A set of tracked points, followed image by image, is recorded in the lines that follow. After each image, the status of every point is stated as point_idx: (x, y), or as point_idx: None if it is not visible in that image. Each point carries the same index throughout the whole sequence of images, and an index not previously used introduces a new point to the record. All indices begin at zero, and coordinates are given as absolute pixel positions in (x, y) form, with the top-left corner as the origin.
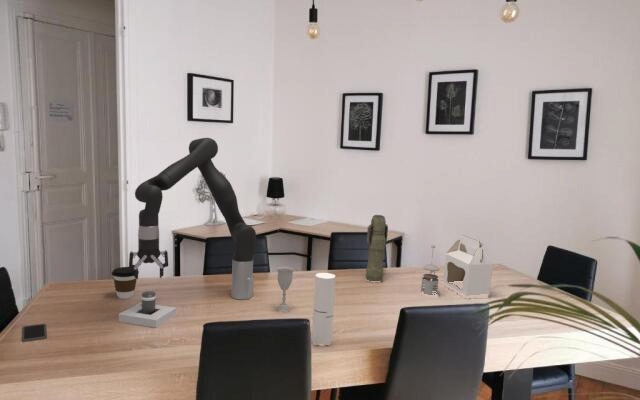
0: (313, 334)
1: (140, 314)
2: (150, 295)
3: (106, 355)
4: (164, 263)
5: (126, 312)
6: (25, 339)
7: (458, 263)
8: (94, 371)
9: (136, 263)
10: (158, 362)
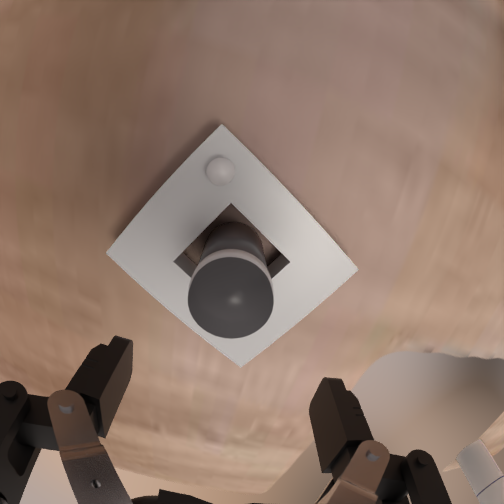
0: (464, 465)
1: None
2: (233, 337)
3: None
4: (391, 486)
5: (136, 245)
6: None
7: None
8: None
9: (59, 445)
10: (208, 477)
